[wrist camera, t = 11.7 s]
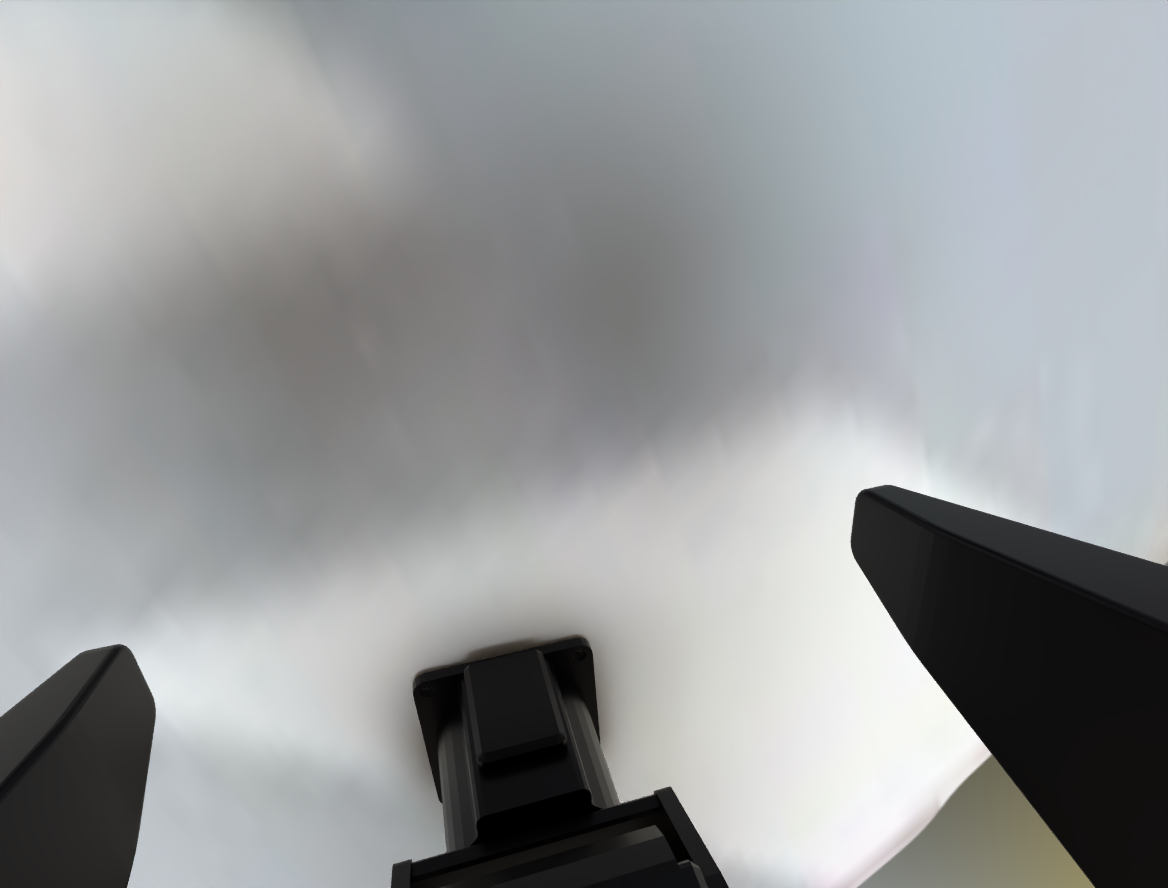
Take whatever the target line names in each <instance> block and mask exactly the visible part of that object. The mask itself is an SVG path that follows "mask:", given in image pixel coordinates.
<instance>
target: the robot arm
mask: <svg viewBox="0 0 1168 888" xmlns="http://www.w3.org/2000/svg"><path fill="white" fill-rule="evenodd" d="M851 549H852V553H853V556H854V558H855V560H856V562H857V563H858V565H859V567H860V568H861V570H862V571H863V573H864V575H865V576H866V578H867V579H868V581H869V583H870V584H871V586H872V587H873V589H874V591H875V592H876V594H877V595H878V597H879V599H880V600H881V602H882V604H883V605H884V607H885V608H886V610H887V612H888V613H889V615H890V616H891V618H892V620H893V621H894V623H895V624H896V626H897V628H898V629H899V631H900V632H901V634H902V636H903V637H904V639H905V640H906V642H907V643H908V645H909V646H910V648H911V649H912V651H913V652H914V653H915V655H916V656H917V657H918V659H919V660H920V662H921V663H922V664H923V666H924V667H925V668H926V669H927V671H928V672H929V673H930V675H931V676H932V677H933V679H934V680H935V681H936V682H937V684H938V685H939V686H940V688H941V689H942V690H943V691H944V693H945V694H946V695H947V697H948V698H949V699H950V701H951V702H952V703H953V704H954V706H955V707H956V708H957V710H958V711H959V712H960V713H961V715H962V716H963V717H964V719H965V720H966V721H967V723H968V724H969V725H970V726H971V728H972V729H973V730H974V732H975V733H976V734H977V735H978V737H979V738H980V739H981V741H982V742H983V743H984V745H985V746H986V747H987V748H988V750H989V751H990V752H991V754H992V755H993V756H994V757H995V759H996V760H997V761H998V763H999V764H1000V765H1001V766H1002V768H1003V769H1004V770H1005V772H1006V773H1007V774H1008V776H1009V777H1010V778H1011V779H1012V781H1013V782H1014V783H1015V785H1016V786H1017V787H1018V788H1019V790H1020V791H1021V792H1022V794H1023V795H1024V796H1025V798H1026V799H1027V800H1028V801H1029V803H1030V804H1031V805H1032V807H1033V808H1034V809H1035V810H1036V812H1037V813H1038V814H1039V816H1040V817H1041V818H1042V819H1043V821H1044V822H1045V823H1046V825H1047V826H1048V827H1049V829H1050V830H1051V831H1052V832H1053V834H1054V835H1055V836H1056V837H1057V839H1058V840H1059V841H1060V843H1061V844H1062V845H1063V847H1064V848H1065V849H1066V851H1068V853H1069V854H1070V856H1071V857H1072V858H1073V860H1074V861H1075V862H1076V863H1077V865H1078V866H1079V867H1080V869H1081V870H1082V871H1083V873H1084V874H1085V875H1086V876H1087V878H1088V879H1089V880H1090V882H1091V883H1092V884H1093V885H1094V887H1095V888H1168V566H1165V565H1162V564H1158V563H1155V562H1151V561H1148V560H1145V559H1141V558H1138V557H1134V556H1131V555H1127V554H1124V553H1121V552H1117V551H1114V550H1110V549H1107V548H1104V547H1100V546H1097V545H1093V544H1090V543H1087V542H1083V541H1080V540H1076V539H1073V538H1070V537H1066V536H1063V535H1059V534H1056V533H1053V532H1049V531H1046V530H1042V529H1039V528H1036V527H1032V526H1029V525H1025V524H1022V523H1019V522H1015V521H1012V520H1008V519H1005V518H1002V517H998V516H995V515H991V514H988V513H985V512H981V511H978V510H974V509H971V508H968V507H964V506H961V505H957V504H954V503H951V502H947V501H944V500H940V499H937V498H934V497H930V496H927V495H923V494H920V493H917V492H913V491H910V490H906V489H903V488H900V487H896V486H893V485H883V486H878V487H873V488H869V489H864V490H862V491H861V492H860V493H859V494H858V495H857V497H856V501H855V509H854V517H853V525H852V533H851ZM577 651H581V652H580V653H578V654H574V653H575V652H577ZM425 687H432V688H430V689H423V688H425ZM413 696H414V701H415V705H416V709H417V713H418V717H419V721H420V725H421V729H422V733H423V737H424V741H425V745H426V749H427V754H428V758H429V762H430V766H431V770H432V774H433V778H434V782H435V786H436V790H437V794H438V798H439V801H440V802H441V803H442V804H443V815H444V826H445V837H446V849H447V853H444V854H440V855H437V856H433V857H430V858H426V859H423V860H419V861H416V862H412V859H411V860H407V861H403V862H400V863H396V864H393V868H392V881H391V888H729V887H728V885H727V883H726V881H725V879H724V877H723V876H722V874H721V872H720V870H719V868H718V867H717V865H716V863H715V861H714V860H713V858H712V856H711V855H710V853H709V851H708V849H707V848H706V846H705V844H704V843H703V841H702V839H701V837H700V836H699V834H698V832H697V831H696V829H695V827H694V825H693V824H692V822H691V820H690V819H689V817H688V815H687V814H686V812H685V810H684V808H683V807H682V805H681V803H680V802H679V800H678V798H677V796H676V795H675V793H674V791H673V790H672V788H671V787H667V788H663V789H660V790H656V791H654V794H653V795H650V796H646V797H643V798H639V799H635V800H632V801H628V802H625V803H621V804H620V802H619V799H618V796H617V793H616V790H615V787H614V784H613V781H612V778H611V775H610V772H609V769H608V766H607V764H606V761H605V758H604V755H603V752H602V749H601V746H600V735H599V723H598V711H597V699H596V687H595V676H594V664H593V653H592V650H591V647H590V645H589V642H588V641H587V640H586V639H583V638H575V639H571V640H566V641H562V642H558V643H553V644H549V645H545V646H540V647H536V648H532V649H528V650H523V651H519V652H515V653H510V654H506V655H502V656H498V657H493V658H489V659H485V660H480V661H476V662H472V663H467V664H463V665H459V666H455V667H450V668H446V669H442V670H437V671H433V672H429V673H425V674H422V675H419V676H418V677H417V678H416V679H415V680H414V682H413ZM155 718H156V708H155V702H154V698H153V695H152V693H151V691H150V689H149V687H148V685H147V683H146V680H145V678H144V676H143V674H142V672H141V670H140V668H139V666H138V664H137V661H136V659H135V657H134V655H133V653H132V652H131V650H130V649H129V648H128V647H127V646H124V645H121V644H116V645H112V646H107V647H102V648H97V649H92V650H88V651H84V652H82V653H80V654H79V655H77V656H76V657H75V658H73V659H72V660H71V661H70V662H68V663H67V664H66V665H65V666H63V667H62V668H61V669H60V670H58V671H57V672H56V673H55V674H53V675H52V676H51V677H50V678H49V679H47V680H46V681H45V682H44V683H42V684H41V685H40V686H39V687H37V688H36V689H35V690H34V691H32V692H31V693H30V694H29V695H27V696H26V697H25V698H24V699H22V700H21V701H20V702H19V703H17V704H16V705H15V706H14V707H12V708H11V709H10V710H9V711H7V712H6V713H5V714H4V715H2V716H1V717H0V888H127V885H128V881H129V877H130V873H131V869H132V865H133V861H134V856H135V852H136V847H137V841H138V835H139V830H140V823H141V816H142V809H143V802H144V795H145V788H146V781H147V774H148V767H149V761H150V754H151V747H152V740H153V733H154V726H155Z"/></svg>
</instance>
